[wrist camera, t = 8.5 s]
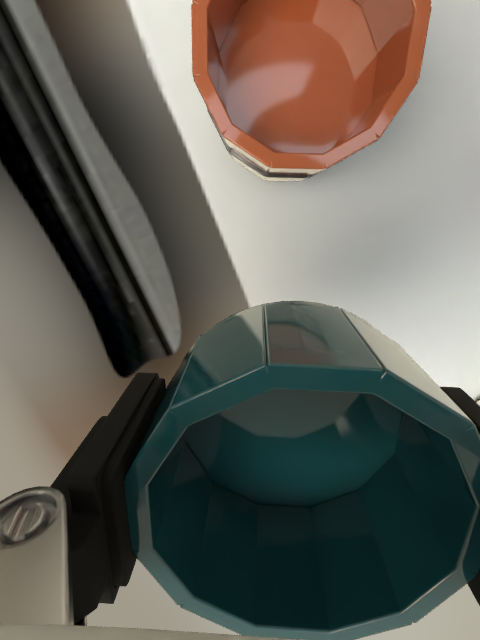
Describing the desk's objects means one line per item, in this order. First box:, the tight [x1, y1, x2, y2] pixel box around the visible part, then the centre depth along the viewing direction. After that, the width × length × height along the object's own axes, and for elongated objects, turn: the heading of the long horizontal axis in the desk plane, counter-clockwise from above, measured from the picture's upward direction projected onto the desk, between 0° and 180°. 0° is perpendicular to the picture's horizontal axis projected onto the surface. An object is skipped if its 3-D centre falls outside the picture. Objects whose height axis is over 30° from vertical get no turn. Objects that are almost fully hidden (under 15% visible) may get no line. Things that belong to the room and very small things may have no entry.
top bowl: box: [124, 301, 480, 640], centre depth 9 cm, size 7×7×5 cm
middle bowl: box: [191, 0, 431, 175], centre depth 13 cm, size 7×7×5 cm
